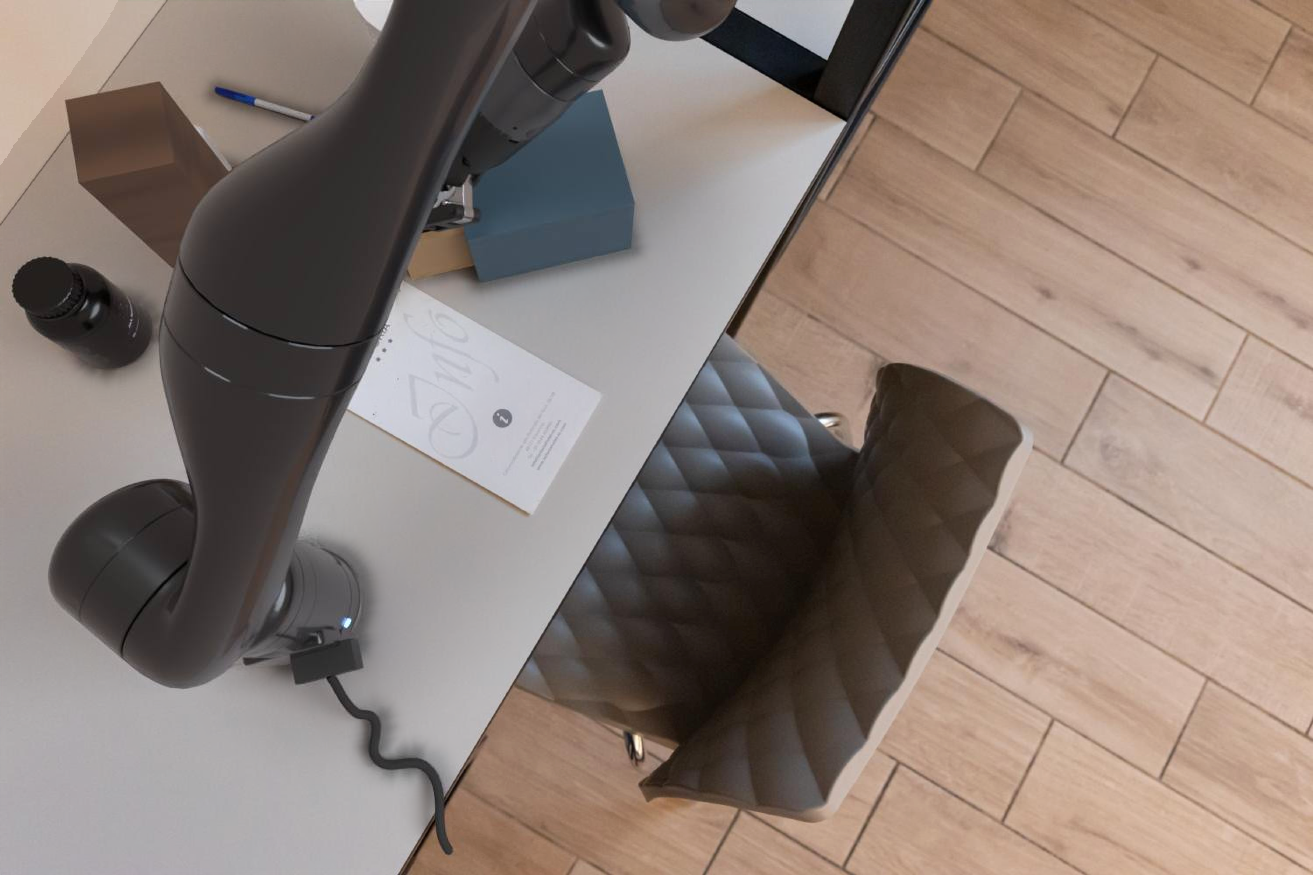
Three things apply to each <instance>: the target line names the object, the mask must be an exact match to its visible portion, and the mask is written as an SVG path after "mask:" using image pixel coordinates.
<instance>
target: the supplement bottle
mask: <svg viewBox="0 0 1313 875" xmlns="http://www.w3.org/2000/svg"><path fill="white" fill-rule="evenodd" d="M13 277H14V278H12V283H11V292H12V298H14V299H15V302H16V303H17V304H18V306H19V307H20V308H21V309H23V310H24V314H25V317H26V319H27V322H28V323H29V325H30V326H31V327H32V328H33V330H34V331H36V332H37V333H38V334H39V335H41V336H42V337H43V338H46V339H47V340H49V341H50V342H52V343H54V344H55V345H57V346H59V347H60V348H62V349H64V350H65V351H67V352H68V353H71V354H72V355H74V356H75V357H77V358H78V359H81V360H82V361H84V362H86V363H88V364H89V365H91V366H94V367H96V368H99V369H104V370H116V369H121V368H125V367H127V366H129V365H132V364H133V363H135V362H136V361H137V360H139V359H140V358H141V357H142V356H143V355H144V353H145V352H146V351H147V350H148V348H149V346H150V344H151V342H152V341H151V340H152V337H153V323H152V320H151V317H150V315H149V314H148V312H147V310H146V309H145V308H144V307H143V306H142V305H141V304H140V303H139V302H138V301H136V300H135V299H133V298H132V297H131V296H130V295H128V294H127V293H126V292H125V291H124V290H122V289H121V288H119V286H117V285H116V284H114V282H112V281H111V280H110V279H108V278H107V277H106V276H105V275H103V274H102V273H101V272H100V271H98V270H97V269H95V268H94V267H91V266H89V265H87V264H84V263H79V262H66V261H65V260H63V259H59V258H58V257H53V256H45V255H44V256H37V257H36V258H32V259H30V260H29V261H26V262H25V264H22V265H21V266H20V268H19V269H17V271H16V273H15V274H14V276H13Z"/></svg>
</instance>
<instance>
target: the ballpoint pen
mask: <svg viewBox="0 0 1313 875" xmlns="http://www.w3.org/2000/svg"><path fill="white" fill-rule="evenodd" d="M214 92H215V93H216V94H217V95H220V96H223V97H225V98H228V99H231V100H235V101H238V102H240V103H241V102H242V103H244V104H247V105H252V106H256V107H260V108H263V109H266V110H270V111H272V112H276V113H279V114H282V115H286V116H290V117H293V118H296V119H299V120H303V121H306V122H308V121H309V120H311V119H312V118H314V117H315V116H316V115H313V114H310V113H306V112H302V111H299V110H296V109H293V108H289V107H286V106H282V105H280V104H276V103H273V102H270V101H266V100H263V99H260V98H257V97H254V96H251V95H248V94H245V93H242V92H238V91H234V90H231V89H228V88H225V87H220V86H215V87H214Z"/></svg>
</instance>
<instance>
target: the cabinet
mask: <svg viewBox="0 0 1313 875" xmlns="http://www.w3.org/2000/svg"><path fill="white" fill-rule="evenodd" d="M608 107H609V106H608V104H607V100H606V97H605V93H604V89H598V90H593V91H588V92H586V93H585V94H584V95H583V96H581V97H580V98H579V99H578V100H577V101H575V102H574V103H573V104H572V105H571V107H570V108H569V109H568V110H567V111H566V112H565V113H564V114H563V115H562V116H561V117H560V118H559V119H558V120H557V121H556V122H555V123H553V124H552V125H551V126H550V127H548V128H547V129H546V130H545V131H543V132H542V133H541V134H540V135H538V136H537V137H536V138H535V139H533V140H532V141H531V142H530V143H528V144H527V145H526V146H525V147H523V148H522V149H521V150H520V151H518V152H517V153H516V154H515V155H513V156H512V157H511V158H510V159H508V160H507V161H506V162H504V163H503V164H501V165H499V166H496V167H494V168H492V169H489V170H487V171H486V172H485V173H484V174H483V175H482V177H481V179H480V181H479V183H478V184H477V186H475V187H474V188H472V193H473V207H474V208H478V209H480V211H481V219H480V221H479V222H478V223H477V224H472V225H468V226H463V228H464V232H465V236H466V240H467V244H468V247H469V250H470V253H471V256H472V259H473V262H474V268H475V271H476V275H477V277H478V278H477V279H478V280H479V283H486V282H491V281H495V280H499V279H503V278H509V277H513V276H516V275H521V274H526V273H530V272H533V271H538V270H539V271H540V270H543V269H547V268H553V267H556V266H560V265H564V264H569V263H572V262H573V263H574V262H578V261H582V260H586V259H590V258H594V257H595V258H596V257H599V256H604V255H607V254H612V253H613V254H614V253H617V252H621V251H624V250H625V251H626V250H630V249H632V245H633V234H634V233H633V232H634V218H635V206H636V205H635V203H636V201H635V198H634V195H633V192H632V188H631V184H630V180H629V177H628V174H627V170H626V167H625V163H624V159H623V156H622V153H621V149H620V146H619V143H618V139H617V136H616V131H615V128H614V125H613V120H612V117H611V114H610V111H609V108H608Z"/></svg>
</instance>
